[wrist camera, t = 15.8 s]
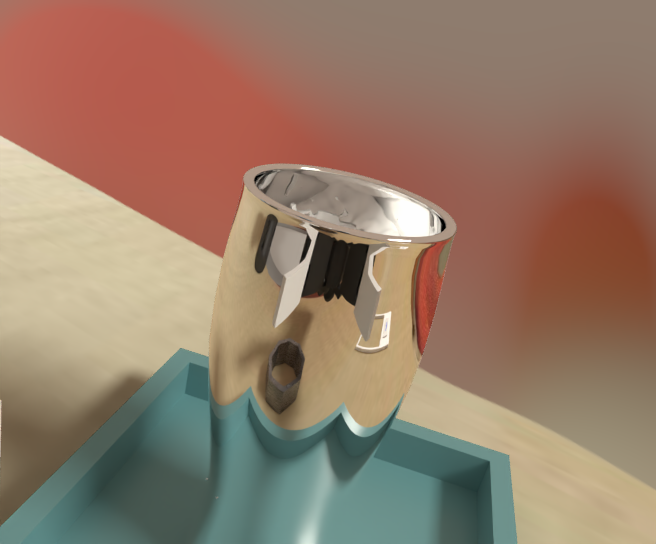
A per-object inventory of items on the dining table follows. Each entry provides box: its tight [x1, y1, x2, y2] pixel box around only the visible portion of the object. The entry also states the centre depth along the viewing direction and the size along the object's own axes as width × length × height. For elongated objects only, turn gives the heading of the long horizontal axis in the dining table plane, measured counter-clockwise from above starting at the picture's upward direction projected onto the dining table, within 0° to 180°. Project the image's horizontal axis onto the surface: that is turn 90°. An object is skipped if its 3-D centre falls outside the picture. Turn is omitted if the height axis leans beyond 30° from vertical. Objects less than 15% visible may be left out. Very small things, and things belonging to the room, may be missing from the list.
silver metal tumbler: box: [184, 164, 457, 544], centre depth 21 cm, size 7×7×15 cm
